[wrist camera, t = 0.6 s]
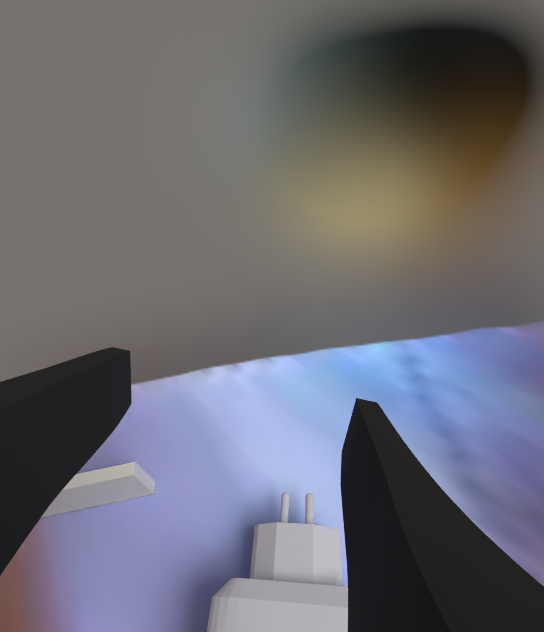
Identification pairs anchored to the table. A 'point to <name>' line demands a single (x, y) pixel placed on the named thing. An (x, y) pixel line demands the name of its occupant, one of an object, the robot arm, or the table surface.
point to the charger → (286, 581)
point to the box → (102, 488)
